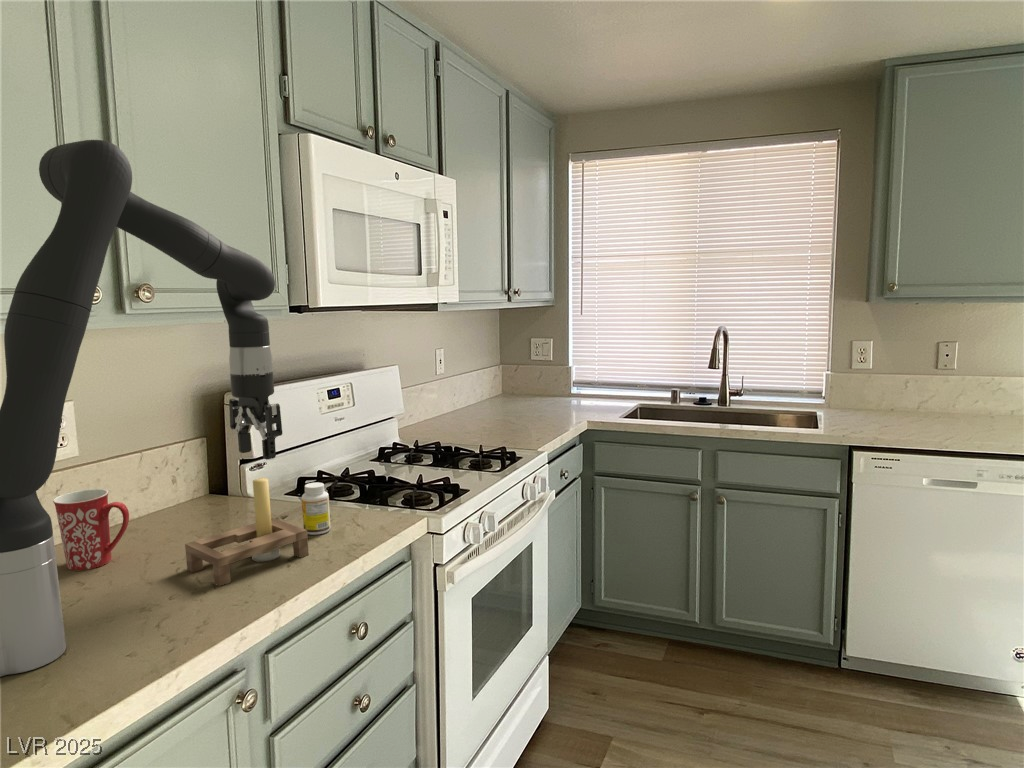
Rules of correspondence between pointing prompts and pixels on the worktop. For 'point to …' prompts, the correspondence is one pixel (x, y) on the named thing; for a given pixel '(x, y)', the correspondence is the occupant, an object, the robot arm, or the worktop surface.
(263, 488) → the peg
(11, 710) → the worktop surface
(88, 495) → the mug
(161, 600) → the worktop surface
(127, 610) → the worktop surface
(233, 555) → the keyhole board
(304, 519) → the supplement bottle
